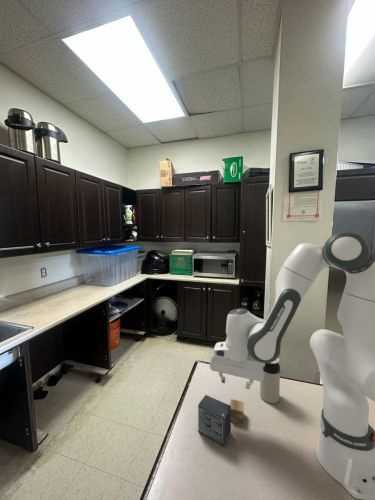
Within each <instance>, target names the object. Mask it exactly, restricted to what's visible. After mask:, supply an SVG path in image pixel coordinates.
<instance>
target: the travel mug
mask: <svg viewBox="0 0 375 500" xmlns="http://www.w3.org/2000/svg"><path fill="white" fill-rule="evenodd" d="M279 362H280V357H278V358H277V359H276V360H275V361H274V362H271V363H265V366H264V367H263V375H264V379H263V380H262V381H261V382H260V381H259V396H260V398H261V399H262V401H265V402H266V403H269V404H277V403H278V402H279V401H280V382H281V381H280V380H281V375H280V374H281V365H280V364H279Z"/></svg>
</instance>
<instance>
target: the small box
mask: <svg viewBox="0 0 375 500" xmlns="http://www.w3.org/2000/svg"><path fill="white" fill-rule="evenodd" d="M197 405H198V406H197V407H198V408H197V410H198V411H197V412H198V415H197V416H198V419H197V420H198V421H197V422H198V423H197V424H198V425H197V426H198V427H197V428H198V431H197V432H198V433H199V434H201V435H203V436H204V437H206V438H207V439H210V440H212V441H213V442H215V443H217V444H218V445H220V446H222V447H226V445H227V442H228V440H229V438H230V437H231V434H232V432H231V431H232V424H231V423H232V421H231V406H230V404H227V403H225V402H222V401H221V400H219V399H217V398H214V397H212V396H210V395H207V394H205V395H204V396H203V398H202V399H201V401H200V402H199V403H198V404H197Z"/></svg>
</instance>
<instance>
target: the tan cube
mask: <svg viewBox="0 0 375 500" xmlns="http://www.w3.org/2000/svg"><path fill="white" fill-rule="evenodd" d="M229 402H230V403H229V405H230V406H231V423H232V422H233V423H237V424H240V425H243V423H244V404H245V403H244V401H241V400H237V399H233V398H230V401H229Z"/></svg>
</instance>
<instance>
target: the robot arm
mask: <svg viewBox="0 0 375 500" xmlns="http://www.w3.org/2000/svg"><path fill="white" fill-rule="evenodd" d="M325 268H329V269H336V270H341V271H343V272H344V273H345V276H346V283H345V286H344V289H343V292H342V296H341V299H340V302H339V306H338V308H337V312H336V317H337V320H338V322H339V324H340V326H341V329H342V332H343V335H342V334H340V333H338V332H335V331H332V330H329V329H327V328H326V329H324V328H321V329H318V330H316V331H314V332H313V333H312V334H311V337H310V339H309V346H310V349H311V350H312V353H313V355H314V357H315V359H316V363H317V366H318V370H319V374H320V377H321V382H322V390H323V399H322V400H323V403H322V404H323V406H322V407H323V408H322V410H321V415H320V430H321V431H320V435H319V439H318V442H317V443H316V445H315V455H316V458H317V460H318V462H319V464H320V466H321V467H322V468H323V469H324V470H325V471H326V473H327V474H329V476H331V478H333V479H334V480H335V481H337V482H338V484H339V483H340V485H342V486H343V488H344V489H345V490H346V491H347V493H349V494H350V495H351V496H352V497H353V498H355V499H357V500H375V429H374V428H373V427H372V426H371V424H370V423H369V417H370V406H369V402H368V399H370V400H371V401H374V402H375V258H374V256H373V252H372V250H371V248H370V246H369V244H368V242H367V240H366V238H364V237H363V236H361V235H360V234H359V233H356V232H354V231H353V232H351V231H341V232H337V233H334V234H333V235H331V236H329V237H328V238H327V239H326V241H325V243H324V244H323V245H316V244H313V243H311V242H310V243H309V242H302V243H300V244H298V245H296V247H294V249H292V251H291V252H290V253H289V255H288V257H287V258H286V259H285V261H284V263H283V265H282V266H281V267H280V269H279V271H278V273H277V277H276V280H275V284H274V287H275V298H274V302H273V305H272V308H271V310H270V312H269V314H268V316H267V318H266V319H264V318H260V317H258V316H256V315H254V314H252V313H251V312H250V311H249V310H248V309H245V308H241V307H240V308H235V309H231V310H230V311H229V312H228V314H227V317H226V324H225V326H226V327H225V334H226V339H225V341H219V342H216V343H215V345H214V348H213V351H212V355H211V357H210V362H209V369H210V370H211V371H213V372H217V373H218V376H219V378H220V380H221V384H226V376H224V374H226V375H231V376H233V377H240V378H244V379H247V380H248V381H246V383H245V384H246V385H245V389H247V390H251V386H252V385H253V384H254V381H257V382H259V383H260V382H261V381H262V380H263V379H264V375H263V367H264V366H265V363H271V362H274V361H275V360H276V359H277V358H280V355H281V344H282V339H283V337H284V335H285V334H286V331H287V329H288V328H289V326H290V324H291V322H292V320H293V318H294V316H295V315H296V312H297V310H298V309H299V306H300V305H301V303H302V301H303V300H304V298H305V297H306V295H307V294H308V292H309V291H310V289H311V287H312V286H313V285H314V283H315V282H316V279H317V278H318V275H320V273H321V272H322V271H323V270H324V269H325Z"/></svg>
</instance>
